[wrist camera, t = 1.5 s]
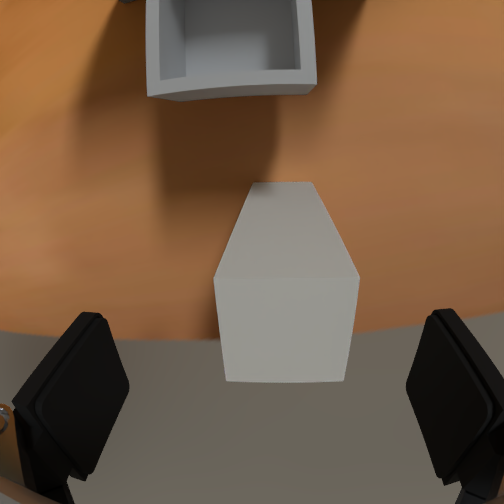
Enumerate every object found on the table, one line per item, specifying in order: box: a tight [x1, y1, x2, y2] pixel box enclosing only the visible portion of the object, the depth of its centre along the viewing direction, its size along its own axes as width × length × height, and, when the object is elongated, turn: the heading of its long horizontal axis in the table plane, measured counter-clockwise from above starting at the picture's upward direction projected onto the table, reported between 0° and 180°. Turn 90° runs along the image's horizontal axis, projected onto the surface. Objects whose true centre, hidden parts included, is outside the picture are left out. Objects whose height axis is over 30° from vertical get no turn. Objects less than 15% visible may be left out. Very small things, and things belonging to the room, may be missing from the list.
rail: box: [213, 182, 360, 383], centre depth 16 cm, size 4×4×14 cm
